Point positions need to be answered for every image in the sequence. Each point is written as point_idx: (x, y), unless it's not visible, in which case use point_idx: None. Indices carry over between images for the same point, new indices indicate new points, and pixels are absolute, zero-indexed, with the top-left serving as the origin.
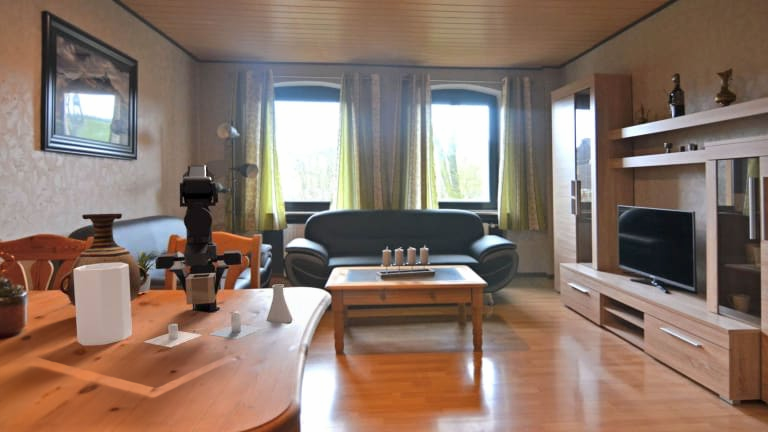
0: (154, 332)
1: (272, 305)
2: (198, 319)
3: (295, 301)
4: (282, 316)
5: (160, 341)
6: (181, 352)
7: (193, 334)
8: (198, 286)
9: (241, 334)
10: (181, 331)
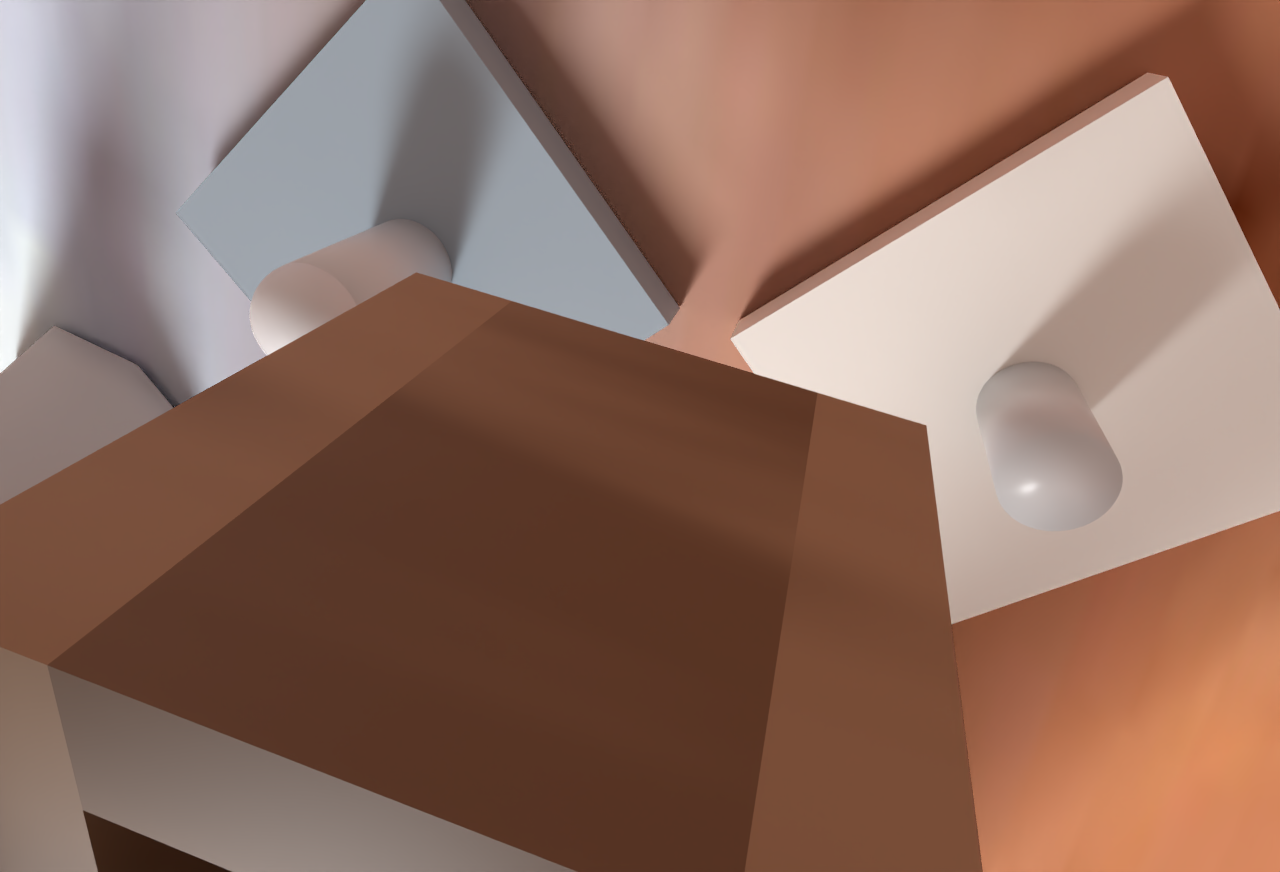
0: (1076, 784)
1: None
2: None
3: None
4: (11, 373)
5: (1189, 383)
6: (1035, 2)
7: None
8: (565, 573)
9: (362, 117)
10: None
